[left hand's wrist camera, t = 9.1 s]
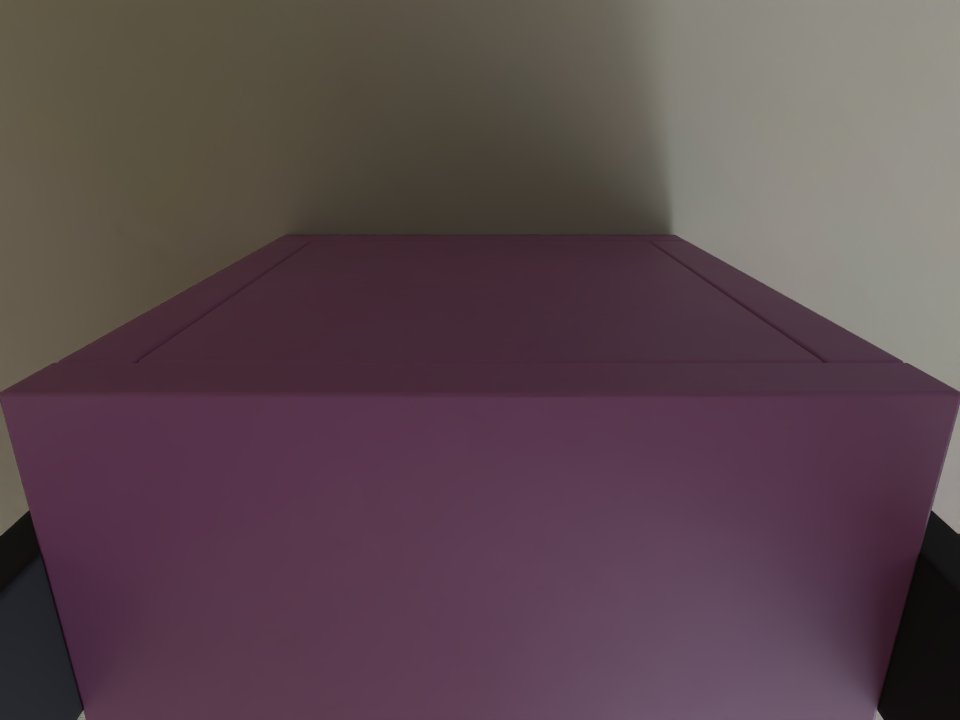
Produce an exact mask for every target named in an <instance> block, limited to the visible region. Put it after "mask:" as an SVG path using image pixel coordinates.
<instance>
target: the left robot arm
mask: <svg viewBox="0 0 960 720" xmlns="http://www.w3.org/2000/svg"><path fill="white" fill-rule="evenodd" d="M877 710H878V712H879V713H880V715H881V716H882V718H883V719H884V720H960V534H957V533H956V532H955V531H954V530H953V529H952V528H951V527H949V526H948V525H947V524H946V523H945V522H944V521H943V520H942V519H941V518H940V517H938V516H937V515H936V514H935V513H934V512H933V511H932V510H931V513H930V516H929V520H928V524H927V528H926V531H925V535H924V539H923V542H922V546H921V550H920V553H919V557H918V561H917V565H916V568H915V572H914V576H913V579H912V583H911V587H910V590H909V594H908V598H907V601H906V605H905V609H904V613H903V616H902V620H901V624H900V627H899V631H898V635H897V638H896V642H895V646H894V650H893V653H892V657H891V661H890V664H889V668H888V672H887V675H886V679H885V683H884V687H883V690H882V694H881V698H880V701H879V705H878V709H877ZM82 711H83V706H82V702H81V699H80V695H79V691H78V688H77V684H76V680H75V677H74V673H73V669H72V665H71V662H70V658H69V654H68V651H67V647H66V643H65V639H64V636H63V632H62V628H61V625H60V621H59V617H58V614H57V610H56V606H55V602H54V599H53V595H52V591H51V588H50V584H49V580H48V576H47V573H46V569H45V565H44V562H43V558H42V554H41V550H40V547H39V543H38V539H37V536H36V532H35V528H34V525H33V521H32V517H31V513H30V510H29V511H28V512H27V513H26V514H25V515H23V516H22V517H21V518H20V519H19V520H18V521H17V522H16V523H15V524H14V525H12V526H11V527H10V528H9V529H8V530H7V531H6V532H5V533H4V534H3V535H1V536H0V720H77V719H78V717H79V716H80V714H81V713H82Z"/></svg>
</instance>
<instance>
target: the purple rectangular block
mask: <svg viewBox="0 0 960 720" xmlns="http://www.w3.org/2000/svg"><path fill="white" fill-rule="evenodd" d="M0 402H1V406H2V410H3V413H4V417H5V421H6V424H7V428H8V432H9V436H10V439H11V443H12V447H13V450H14V454H15V458H16V462H17V465H18V469H19V473H20V476H21V480H22V484H23V487H24V491H25V495H26V499H27V502H28V506H29V510H30V513H31V517H32V521H33V525H34V528H35V532H36V536H37V539H38V543H39V547H40V550H41V554H42V558H43V562H44V565H45V569H46V573H47V576H48V580H49V584H50V588H51V591H52V595H53V599H54V602H55V606H56V610H57V614H58V617H59V621H60V625H61V628H62V632H63V636H64V639H65V643H66V647H67V651H68V654H69V658H70V662H71V665H72V669H73V673H74V677H75V680H76V684H77V688H78V691H79V695H80V699H81V702H82V706H83V710H84V714H85V717H86V720H875V716H876V712H877V709H878V705H879V701H880V698H881V694H882V690H883V687H884V683H885V679H886V675H887V672H888V668H889V664H890V661H891V657H892V653H893V650H894V646H895V642H896V638H897V635H898V631H899V627H900V624H901V620H902V616H903V613H904V609H905V605H906V601H907V598H908V594H909V590H910V587H911V583H912V579H913V576H914V572H915V568H916V565H917V561H918V557H919V553H920V550H921V546H922V542H923V539H924V535H925V531H926V528H927V524H928V520H929V516H930V513H931V509H932V505H933V502H934V498H935V494H936V491H937V487H938V483H939V479H940V476H941V472H942V468H943V465H944V461H945V457H946V454H947V450H948V446H949V442H950V439H951V435H952V431H953V428H954V424H955V420H956V417H957V413H958V409H959V406H960V392H959V391H957V390H955V389H954V388H952V387H950V386H948V385H946V384H945V383H943V382H941V381H939V380H937V379H936V378H934V377H932V376H930V375H928V374H927V373H925V372H923V371H921V370H919V369H917V368H916V367H914V366H912V365H910V364H908V363H903V361H902V360H900V359H898V358H896V357H894V356H893V355H891V354H889V353H887V352H885V351H884V350H882V349H880V348H878V347H876V346H875V345H873V344H871V343H869V342H867V341H866V340H864V339H862V338H860V337H858V336H857V335H855V334H853V333H851V332H849V331H848V330H846V329H844V328H842V327H840V326H839V325H837V324H835V323H833V322H831V321H830V320H828V319H826V318H824V317H822V316H821V315H819V314H817V313H815V312H813V311H812V310H810V309H808V308H806V307H804V306H803V305H801V304H799V303H797V302H795V301H794V300H792V299H790V298H788V297H786V296H785V295H783V294H781V293H779V292H777V291H776V290H774V289H772V288H770V287H768V286H767V285H765V284H763V283H761V282H759V281H757V280H756V279H754V278H752V277H750V276H748V275H747V274H745V273H743V272H741V271H739V270H738V269H736V268H734V267H732V266H730V265H729V264H727V263H725V262H723V261H721V260H720V259H718V258H716V257H714V256H712V255H711V254H709V253H707V252H705V251H703V250H702V249H700V248H698V247H696V246H694V245H693V244H691V243H689V242H687V241H685V240H683V239H681V238H680V237H678V236H676V235H284V236H282V237H280V238H279V239H277V240H275V241H274V242H271V243H270V244H268V245H266V246H264V247H262V248H261V249H259V250H257V251H255V252H254V253H252V254H250V255H248V256H246V257H245V258H243V259H241V260H239V261H237V262H236V263H234V264H232V265H230V266H228V267H227V268H225V269H223V270H221V271H219V272H218V273H216V274H214V275H212V276H210V277H209V278H207V279H205V280H203V281H202V282H200V283H198V284H196V285H194V286H193V287H191V288H189V289H187V290H185V291H184V292H182V293H180V294H178V295H176V296H175V297H173V298H171V299H169V300H167V301H166V302H164V303H162V304H160V305H158V306H157V307H155V308H153V309H151V310H150V311H148V312H146V313H144V314H142V315H141V316H139V317H137V318H135V319H133V320H132V321H130V322H128V323H126V324H124V325H123V326H121V327H119V328H117V329H115V330H114V331H112V332H110V333H108V334H106V335H105V336H103V337H101V338H99V339H98V340H96V341H94V342H92V343H90V344H89V345H87V346H85V347H83V348H81V349H80V350H78V351H76V352H74V353H72V354H71V355H69V356H67V357H65V358H63V359H62V360H60V361H59V362H58V363H53V364H51V365H49V366H47V367H45V368H43V369H42V370H40V371H38V372H36V373H34V374H33V375H31V376H29V377H27V378H25V379H24V380H22V381H20V382H18V383H16V384H14V385H13V386H11V387H9V388H7V389H5V390H4V391H2V392H1V393H0Z"/></svg>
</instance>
